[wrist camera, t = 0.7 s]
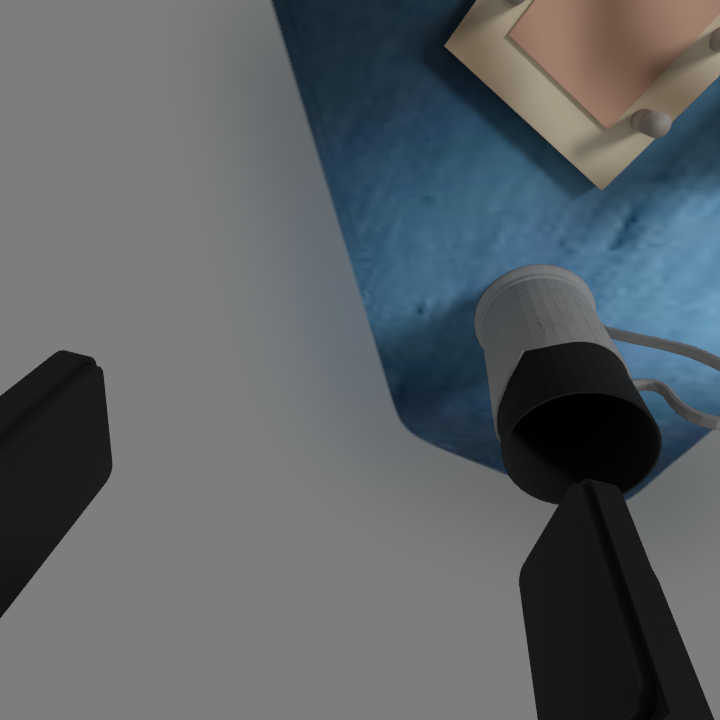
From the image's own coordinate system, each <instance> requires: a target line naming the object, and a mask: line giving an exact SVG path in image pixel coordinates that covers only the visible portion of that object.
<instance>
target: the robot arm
mask: <svg viewBox="0 0 720 720" xmlns="http://www.w3.org/2000/svg"><path fill="white" fill-rule="evenodd" d="M111 470H112V455H111V445H110V436H109V425H108V416H107V405H106V395H105V386H104V376H103V370H102V369H101V367H98V366H97V365H96V361H95V360H94V359H93V358H92V357H89V356H85V355H81V354H77V353H73V352H69V351H65V350H62V351H58V352H56V353H55V354H53V355H52V356H51V357H49V358H48V359H47V360H46V361H44V362H43V363H42V364H41V365H39V366H38V367H37V368H35V369H34V370H33V371H32V372H30V373H29V374H28V375H27V376H25V377H24V378H23V379H21V380H20V381H19V382H18V383H16V384H15V385H14V386H12V387H11V388H10V389H9V390H7V391H6V392H5V393H4V394H2V395H1V396H0V618H1V617H2V615H3V614H4V613H5V611H6V610H7V609H8V608H9V606H10V605H11V604H12V603H13V601H14V600H15V599H16V597H17V596H18V595H19V594H20V592H21V591H22V590H23V588H24V587H25V586H26V585H27V583H28V582H29V581H30V579H31V578H32V577H33V576H34V574H35V573H36V572H37V570H38V569H39V568H40V567H41V565H42V564H43V563H44V561H45V560H46V559H47V557H48V556H49V555H50V554H51V552H52V551H53V550H54V548H55V547H56V546H57V545H58V544H59V542H60V541H61V540H62V538H63V537H64V536H65V535H66V533H67V532H68V531H69V529H70V528H71V527H72V525H73V524H74V523H75V522H76V520H77V519H78V518H79V516H80V515H81V514H82V513H83V511H84V510H85V509H86V507H87V506H88V505H89V504H90V502H91V501H92V500H93V499H94V497H95V496H96V495H97V493H98V492H99V491H100V490H101V488H102V487H103V486H104V484H105V483H106V482H107V480H108V478H109V476H110V474H111ZM519 587H520V594H521V601H522V608H523V615H524V623H525V630H526V636H527V644H528V651H529V659H530V666H531V673H532V680H533V688H534V695H535V702H536V710H537V717H538V720H714V718H713V716H712V713H711V711H710V708H709V706H708V703H707V701H706V698H705V696H704V693H703V691H702V688H701V686H700V683H699V681H698V678H697V676H696V673H695V671H694V668H693V666H692V663H691V661H690V658H689V656H688V653H687V651H686V648H685V646H684V643H683V641H682V638H681V636H680V633H679V631H678V628H677V626H676V623H675V621H674V618H673V616H672V613H671V611H670V608H669V606H668V603H667V601H666V598H665V596H664V593H663V591H662V588H661V586H660V583H659V581H658V579H657V577H656V575H655V573H654V571H653V570H652V568H651V566H650V563H649V560H648V558H647V555H646V553H645V550H644V547H643V545H642V542H641V540H640V537H639V535H638V532H637V530H636V527H635V525H634V522H633V520H632V517H631V515H630V512H629V510H628V507H627V505H626V502H625V500H624V497H623V495H622V492H621V490H620V489H619V487H617V486H616V485H612V484H608V483H604V482H600V481H596V480H591V479H584V480H582V481H581V482H580V484H575V483H574V484H572V485H571V486H570V487H569V489H568V490H567V492H566V494H565V496H564V497H563V499H562V501H561V502H560V504H559V506H558V507H557V509H556V511H555V512H554V514H553V516H552V518H551V519H550V521H549V522H548V524H547V526H546V527H545V529H544V531H543V532H542V534H541V536H540V538H539V539H538V541H537V543H536V544H535V546H534V547H533V549H532V551H531V552H530V554H529V556H528V557H527V559H526V561H525V563H524V564H523V566H522V568H521V572H520V577H519Z"/></svg>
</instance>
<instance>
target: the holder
mask: <svg viewBox="0 0 720 720" xmlns="http://www.w3.org/2000/svg"><path fill="white" fill-rule="evenodd" d="M474 328H475V333H476V336H477V339H478V341H479V343H480V345H481V347H482V348H483V349H484V355H485V362H486V369H487V376H488V383H489V390H490V397H491V404H492V411H493V419H494V426H495V433H496V436H497V438H498V439H499V441H500V444H501V450H502V457H503V462H504V467H505V469H506V471H507V473H508V475H509V477H510V478H511V479H512V481H513V482H514V483H515V484H516V485H517V486H518V487H519V488H520V489H521V490H523V491H524V492H526V493H527V494H529V495H531V496H533V497H535V498H537V499H539V500H542V501H545V502H549V503H552V504H558V505H559V504H560V502H561V501H562V499H563V497H564V496H565V494H566V492H567V490H568V489H569V487H570V486H571V485H572V484H574V483H575V484H580V482H581V481H582V480H584V479H591V480H596V481H600V482H604V483H608V484H612V485H616V486H617V487H619V489H620V490H621V492H622V495H623V494H625V493H627V492H629V491H630V490H632V489H633V488H635V487H636V486H638V485H639V484H640V483H641V482H642V481H643V480H644V479H646V478H647V477H648V475H649V474H650V473H651V471H652V470H653V469H654V467H655V465H656V463H657V461H658V459H659V456H660V452H661V434H660V430H659V427H658V425H657V423H656V422H655V420H654V418H653V416H652V415H651V413H650V411H649V410H648V408H647V406H646V404H645V403H644V401H643V399H642V397H641V396H640V394H639V392H638V391H654V392H657V393H659V394H660V395H662V396H663V397H664V399H665V400H666V401H667V402H668V404H669V405H670V407H671V408H672V409H673V410H674V411H675V412H676V413H677V414H679V415H680V416H681V417H683V418H684V419H686V420H687V421H690V422H692V423H694V424H697V425H699V426H702V427H706V428H710V429H714V430H720V417H718V416H713V415H709V414H705V413H703V412H700V411H698V410H695V409H693V408H691V407H690V406H688V405H687V404H685V403H684V402H683V401H682V400H681V399H680V398H679V397H678V396H677V395H676V394H675V393H674V392H673V390H672V389H671V388H670V387H669V386H668V385H667V384H665V383H663V382H661V381H658V380H655V379H631V375H630V371H629V368H628V367H627V365H626V363H625V361H624V360H623V358H622V356H621V355H620V353H619V351H618V349H617V348H616V346H615V344H614V343H613V341H612V339H615V340H619V341H624V342H628V343H633V344H637V345H642V346H647V347H652V348H656V349H660V350H664V351H668V352H672V353H676V354H679V355H683V356H686V357H689V358H692V359H694V360H697V361H699V362H701V363H704V364H706V365H708V366H710V367H712V368H714V369H716V370H718V371H720V357H718V356H716V355H714V354H711V353H709V352H707V351H704V350H702V349H699V348H697V347H694V346H691V345H687V344H683V343H679V342H675V341H670V340H666V339H661V338H657V337H653V336H647V335H642V334H637V333H632V332H628V331H623V330H618V329H614V328H610V327H607V326H605V325H603V324H602V322H601V321H600V319H599V317H598V316H597V314H596V304H595V300H594V297H593V294H592V292H591V291H590V289H589V287H588V286H587V284H586V283H585V282H584V281H583V280H582V279H581V278H580V277H578V276H577V275H576V274H575V273H573V272H571V271H569V270H567V269H565V268H561V267H558V266H554V265H546V264H538V265H529V266H524V267H520V268H517V269H515V270H512V271H510V272H508V273H506V274H504V275H503V276H501V277H500V278H498V279H497V280H496V281H495V282H493V283H492V284H491V285H490V286H489V287H488V288H487V290H486V291H485V292H484V294H483V295H482V297H481V298H480V300H479V303H478V305H477V308H476V311H475V316H474ZM611 338H612V339H611Z"/></svg>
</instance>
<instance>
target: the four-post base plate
mask: <svg viewBox="0 0 720 720" xmlns="http://www.w3.org/2000/svg"><path fill="white" fill-rule="evenodd" d="M444 46H445V47H446V48H447V49H448V50H449V51H450V52H451V53H452V54H453V55H454V56H456V57H457V58H458V59H459V60H460V61H461V62H462V63H463V64H464V65H465V66H466V67H467V68H469V69H470V70H471V71H472V72H473V73H474V74H475V75H476V76H477V77H478V78H479V79H481V80H482V81H483V82H484V83H485V84H486V85H487V86H488V87H489V88H490V89H491V90H492V91H494V92H495V93H496V94H497V95H498V96H499V97H500V98H501V99H502V100H503V101H504V102H505V103H507V104H508V105H509V106H510V107H511V108H512V109H513V110H514V111H515V112H516V113H517V114H519V115H520V116H521V117H522V118H523V119H524V120H525V121H526V122H527V123H528V124H529V125H530V126H532V127H533V128H534V129H535V130H536V131H537V132H538V133H539V134H540V135H541V136H542V137H544V138H545V139H546V140H547V141H548V142H549V143H550V144H551V145H552V146H553V147H554V148H555V149H557V150H558V151H559V152H560V153H561V154H562V155H563V156H564V157H565V158H566V159H567V160H569V161H570V162H571V163H572V164H573V165H574V166H575V167H576V168H577V169H578V170H579V171H580V172H582V173H583V174H584V175H585V176H586V177H587V178H588V179H589V180H590V181H591V182H592V183H593V184H595V185H596V186H597V187H598V188H599V189H600V190H601V191H602V190H603V189H604V188H605V187H606V186H608V185H609V184H610V183H611V182H612V181H613V180H614V179H615V178H616V177H617V176H618V175H619V174H620V173H621V172H622V171H623V170H624V169H625V168H626V167H627V166H628V165H629V164H630V163H631V162H632V161H633V160H634V159H635V158H636V157H637V156H638V155H639V154H640V153H641V152H642V151H643V150H644V149H645V148H646V147H647V146H648V145H649V144H650V143H651V142H652V141H653V140H654V139H655V138H660V137H662V136H664V135H665V134H666V133H667V132H668V131H669V130H670V128H671V123H672V122H673V121H674V120H675V119H676V118H677V117H678V116H679V115H680V114H681V113H682V112H683V111H684V110H685V109H686V108H687V107H688V106H689V105H690V104H691V103H692V102H693V101H694V100H695V99H696V98H697V97H698V96H699V95H700V94H701V93H702V92H703V91H704V90H705V89H706V88H707V87H708V86H709V85H710V84H711V83H712V82H713V81H714V80H715V79H716V78H717V77H718V76H719V75H720V0H476V2H475V3H474V5H473V6H472V7H471V9H470V10H469V12H468V13H467V14H466V16H465V17H464V19H463V20H462V21H461V23H460V24H459V26H458V27H457V28H456V30H455V31H454V33H453V34H452V36H451V37H450V38H449V40H448V41H447V43H446V44H445V45H444Z"/></svg>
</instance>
